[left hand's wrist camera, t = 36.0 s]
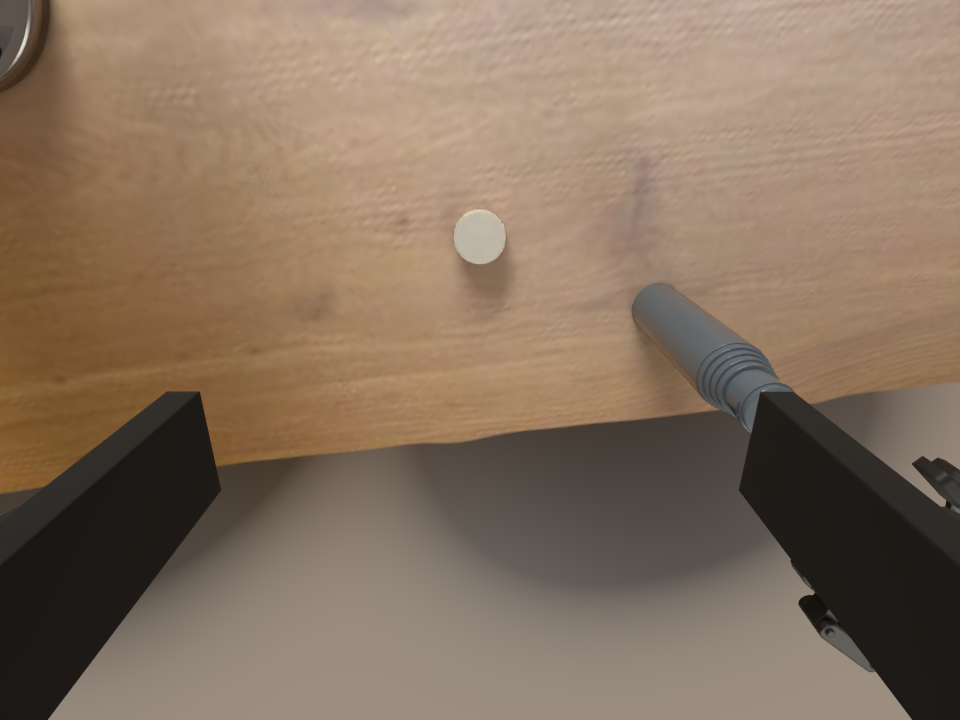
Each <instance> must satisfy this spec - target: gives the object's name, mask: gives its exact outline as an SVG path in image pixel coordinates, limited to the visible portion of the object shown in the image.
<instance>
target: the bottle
mask: <svg viewBox="0 0 960 720" xmlns="http://www.w3.org/2000/svg"><path fill="white" fill-rule="evenodd" d="M632 315H633V318H634V320H635V322H636V324H637V325H638V326H639V327H640V328H641V329H642V331H643V332H644V333H645V334H646V335H647V336H648V337H649V338H650V340H651V341H652V342H653V343H654V344H655V345H656V346H657V347H658V349H659V350H660V351H661V352H662V353H663V354H664V355H665V356H666V358H667V359H668V360H669V361H670V362H671V363H672V364H673V365H674V367H675V368H676V369H677V370H678V371H679V372H680V373H681V374H682V376H683V377H684V378H685V379H686V380H687V381H688V382H689V383H690V385H691V386H692V387H693V388H694V389H695V390H696V391H697V392H698V394H699V395H700V396H701V397H702V398H703V399H704V400H705V401H706V402H708V403H709V404H710V405H712V406H713V407H715V408H718V409H720V410H722V411H724V412H726V413H728V414H730V415H732V416H734V417H737V419H738V421H739V422H740V423H741V425H742V426H743V427H744V428H745V429H746V430H747V431H749V432H750V433H751V432H752V428H753V423H754V418H755V414H756V409H757V405H758V400H759V395H760V392H794V391H793V389H792V388H791V387H789V386H788V385H786V384H783V383H781V382H780V381H779V379H778V377H777V375H776V374H775V372H774V370H773V368H772V366H771V365H770V363H769V361H768V359H767V358H766V357H765V355H764V354H763V353H762V352H761V351H760V350H759V349H758V348H756V347H755V346H754V345H752V344H751V343H749V342H748V341H747V340H745V339H744V338H743V337H741V336H740V335H738V334H737V333H736V332H734V331H733V330H732V329H730V328H729V327H727V326H726V325H725V324H723V323H722V322H720V321H719V320H718V319H716V318H715V317H714V316H712V315H711V314H709V313H708V312H707V311H705V310H704V309H703V308H701V307H700V306H698V305H697V304H696V303H694V302H693V301H691V300H690V299H689V298H687V297H686V296H685V295H683V294H682V293H680V292H679V291H678V290H676V289H675V288H673V287H672V286H670V285H667V284H654V285H651V286H648V287H646V288H645V289H643V290H642V291H641V292H640V293H639V294H638V295H637V297H636V298H635V300H634V303H633V307H632ZM794 393H795V392H794ZM795 394H796V393H795Z"/></svg>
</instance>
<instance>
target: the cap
mask: <svg viewBox="0 0 960 720" xmlns="http://www.w3.org/2000/svg"><path fill="white" fill-rule="evenodd" d="M505 233H506V231H505V230H504V224H502V222H501V219H499V218H498V217H497V215H495V214H493V213H492V211H491V212H490V211H487V210H482V209H477V210H475V209H474V210H473V211H468V213H466V214H464V215H463V216H462V217H461V218H460V219H459V221H458V223H457V224H456V228H455V229H454V236H453V238H454V244H455V247H456V250H457V251H458V253H459V254H460V256H461V257H462V258H464V259H465V260H466V261H468V262H470V263H474V264H486V263H489V262H492V261H493V260H495V259H496V258H497V257H498V256H499V255H500V254H501V252H502V251H503V249H504V246H505V242H506V234H505Z"/></svg>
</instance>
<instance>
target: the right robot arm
mask: <svg viewBox="0 0 960 720" xmlns="http://www.w3.org/2000/svg"><path fill="white" fill-rule="evenodd" d="M912 465H913V466H914V467H915V468H916V469H917V470H918V471H919V472H920V474H921V475H922V476H923V477H924V478H925V479H926V480H927V481H928V482H929V483H930V485H931V486H932V487H933V488H934V489H935V490H936V491H937V492H938V493H939V494H940V495H941V496H942V497H943V498H944V499H946V500H947V501H946V506H945V507H947V508H949V509H951V510H953V511H955V512H957V513H959V514H960V470H959V469H957V468H956V467H954V466H953V465H951V464H950V463H948V462H947V461H945V460H943V459H940V458H936V459H935V460H934V461H932V462H931V461H929V460H928V459H926V458H925V457H923V456H922V457H920V458H919V459H918V460H916V461H915V462H913V463H912ZM791 564H792V567H793V568H794V569H795V571H796V572H797V573H798V575H799V576H800V577H801V579H802V580H803V581H804V583H805V584H806V585H807V586H808V587H810V588H811V589H812V590H813V591H814V592H815V590H814V589H813V588H812V586H811V585H810V584H809V582H808V581H807V580H806V578H805V577H804V576H803V574H802V573H801V572H800V570H799V569H798V568H797V566H796V565H795V564H794V562H793V561H792V560H791ZM799 606H800V608H801V609H802V611H803V612H804V613H805V615H806V616H807V618H808V619H809V620H810V622H811V623H812V625H813V626H814V628H815V629H816V630H817V632H818V633H819V635H820V636H821V637H822V638H823V639H824V640H825V641H827V642H828V643H830V644H831V645H832V646H834V647H835V648H837V649H838V650H839V651H841V652H842V653H843V654H845V655H846V656H848V657H849V658H850V659H852V660H853V661H854V662H856V663H857V664H858V665H860V666H861V667H863V668H864V669H865V670H867V671H868V672H876V671H875V670H874V668H873V667H872V666H871V664H870V663H869V662H868V660H867V659H866V658H865V656H864V655H863V654H862V652H861V651H860V650H859V649H858V647H857V646H856V645H855V643H854V642H853V641H852V639H851V638H850V637H849V635H848V634H847V633H846V631H845V630H844V629H843V627H842V626H841V625H840V623H839V622H838V621H837V619H836V618H835V617H834V615H833V614H832V613H831V611H830V610H829V609H828V607H827V606H826V605H825V604H824V602H823V601H822V600H821V598H820V597H819V596H818V594H817V593H816V592H815V593H814V595H807V596H804V597H802V598H801V599H800V600H799Z"/></svg>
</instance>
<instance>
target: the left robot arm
mask: <svg viewBox="0 0 960 720" xmlns="http://www.w3.org/2000/svg"><path fill="white" fill-rule="evenodd" d="M48 17H49V7H48V0H0V92H2V91H5V90H7V89H9V88H10V87H12V86H14V85H15V84H17V83H18V82H19V81H21V80H22V79H23V78H24V77H25V76H26V75H27V74H28V73H29V71H30V70H31V69H32V67H33V66H34V64H35V63H36V61H37V59H38V58H39V55H40V53H41V51H42V48H43V45H44V42H45V38H46V33H47V28H48ZM220 491H221V488H220V483H219V479H218V474H217V470H216V465H215V460H214V455H213V451H212V446H211V441H210V437H209V432H208V428H207V423H206V418H205V414H204V409H203V405H202V400H201V395H200V392H166V393H165V394H163V395H162V396H161V397H159V398H158V399H157V400H156V401H154V402H153V403H152V404H151V405H149V406H148V407H147V408H145V409H144V410H143V411H142V412H140V413H139V414H138V415H136V416H135V417H134V418H133V419H131V420H130V421H129V422H127V423H126V424H125V425H124V426H122V427H121V428H120V429H118V430H117V431H116V432H115V433H113V434H112V435H111V436H110V437H108V438H107V439H106V440H104V441H103V442H102V443H101V444H99V445H98V446H97V447H95V448H94V449H93V450H92V451H90V452H89V453H88V454H86V455H85V456H84V457H83V458H81V459H80V460H79V461H77V462H76V463H75V464H74V465H72V466H71V467H70V468H69V469H67V470H66V471H65V472H63V473H62V474H61V475H60V476H58V477H57V478H56V479H54V480H53V481H52V482H51V483H49V484H48V485H47V486H45V487H44V488H43V489H42V490H40V491H39V492H38V493H37V494H35V495H34V496H33V497H31V498H30V499H29V500H28V501H26V502H25V503H24V504H22V505H21V506H20V507H19V508H17V509H14V510H12V511H10V512H8V513H6V514H4V515H2V516H0V720H48V719H49V717H50V716H51V715H52V713H53V712H54V711H55V709H56V708H57V707H58V705H59V704H60V703H61V701H62V700H63V699H64V698H65V696H66V695H67V694H68V692H69V691H70V690H71V688H72V687H73V686H74V684H75V683H76V682H77V680H78V679H79V678H80V676H81V675H82V674H83V672H84V671H85V670H86V668H87V667H88V666H89V664H90V663H91V662H92V660H93V659H94V658H95V656H96V655H97V654H98V652H99V651H100V650H101V649H102V647H103V646H104V644H105V643H106V642H107V641H108V639H109V638H110V637H111V635H112V634H113V633H114V631H115V630H116V629H117V627H118V626H119V625H120V623H121V622H122V621H123V619H124V618H125V617H126V615H127V614H128V613H129V611H130V610H131V609H132V607H133V606H134V605H135V603H136V602H137V601H138V600H139V598H140V597H141V596H142V594H143V593H144V591H145V590H146V589H147V588H148V586H149V585H150V584H151V582H152V581H153V580H154V578H155V577H156V576H157V574H158V573H159V572H160V570H161V569H162V568H163V566H164V565H165V564H166V562H167V561H168V560H169V558H170V557H171V556H172V555H173V553H174V552H175V551H176V549H177V548H178V547H179V545H180V544H181V543H182V541H183V540H184V539H185V537H186V536H187V535H188V533H189V532H190V531H191V529H192V528H193V527H194V525H195V524H196V523H197V521H198V520H199V519H200V517H201V516H202V515H203V513H204V512H205V511H206V509H207V508H208V507H209V505H210V504H211V503H212V502H213V500H214V499H215V498H216V496H217V495H218V494H219V492H220ZM739 491H740V492H741V494H742V495H743V496H744V498H745V499H746V500H747V502H748V503H749V504H750V505H751V507H752V508H753V509H754V511H755V512H756V513H757V515H758V516H759V517H760V519H761V520H762V521H763V523H764V524H765V525H766V527H767V528H768V529H769V531H770V532H771V533H772V535H773V536H774V537H775V539H776V540H777V541H778V543H779V544H780V545H781V547H782V548H783V549H784V551H785V552H786V553H787V554H788V556H789V557H790V558H791V560H792V561H793V562H794V564H795V565H796V566H797V568H798V569H799V570H800V572H801V573H802V574H803V576H804V577H805V578H806V580H807V581H808V582H809V584H810V585H811V586H812V588H813V589H814V590H815V592H816V593H817V594H818V596H819V597H820V598H821V600H822V601H823V602H824V604H825V605H826V606H827V607H828V609H829V610H830V611H831V613H832V614H833V615H834V617H835V618H836V619H837V621H838V622H839V623H840V625H841V626H842V627H843V629H844V630H845V631H846V633H847V634H848V635H849V637H850V638H851V639H852V641H853V642H854V643H855V645H856V646H857V647H858V649H859V650H860V651H861V652H862V654H863V655H864V656H865V658H866V659H867V660H868V662H869V663H870V664H871V666H872V667H873V668H874V670H875V671H876V672H877V674H878V675H879V676H880V678H881V679H882V680H883V681H884V683H885V684H886V686H887V687H888V688H889V690H890V691H891V692H892V694H893V695H894V696H895V697H896V699H897V700H898V701H899V703H900V704H901V705H902V707H903V708H904V709H905V711H906V712H907V713H908V715H909V716H910V717H911V719H912V720H960V514H959V513H957V512H955V511H953V510H951V509H949V508H947V507H940V506H939V505H938V504H936V503H935V502H934V501H932V500H931V499H930V498H929V497H927V496H926V495H925V494H924V493H922V492H921V491H920V490H918V489H917V488H916V487H914V486H913V485H912V484H911V483H909V482H908V481H907V480H906V479H904V478H903V477H902V476H900V475H899V474H898V473H897V472H895V471H894V470H893V469H891V468H890V467H889V466H888V465H886V464H885V463H884V462H882V461H881V460H880V459H879V458H877V457H876V456H875V455H873V454H872V453H871V452H870V451H868V450H867V449H866V448H865V447H863V446H862V445H861V444H859V443H858V442H857V441H856V440H854V439H853V438H852V437H850V436H849V435H848V434H847V433H845V432H844V431H843V430H841V429H840V428H839V427H838V426H836V425H835V424H834V423H833V422H831V421H830V420H829V419H827V418H826V417H825V416H824V415H822V414H821V413H820V412H818V411H817V410H816V409H815V408H813V407H812V406H811V405H809V404H808V403H807V402H806V401H804V400H803V399H802V398H801V397H799V396H798V395H797V394H795V393H794V392H760V395H759V400H758V405H757V409H756V414H755V418H754V423H753V428H752V432H751V437H750V442H749V446H748V451H747V455H746V460H745V465H744V469H743V474H742V479H741V483H740V488H739Z"/></svg>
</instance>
